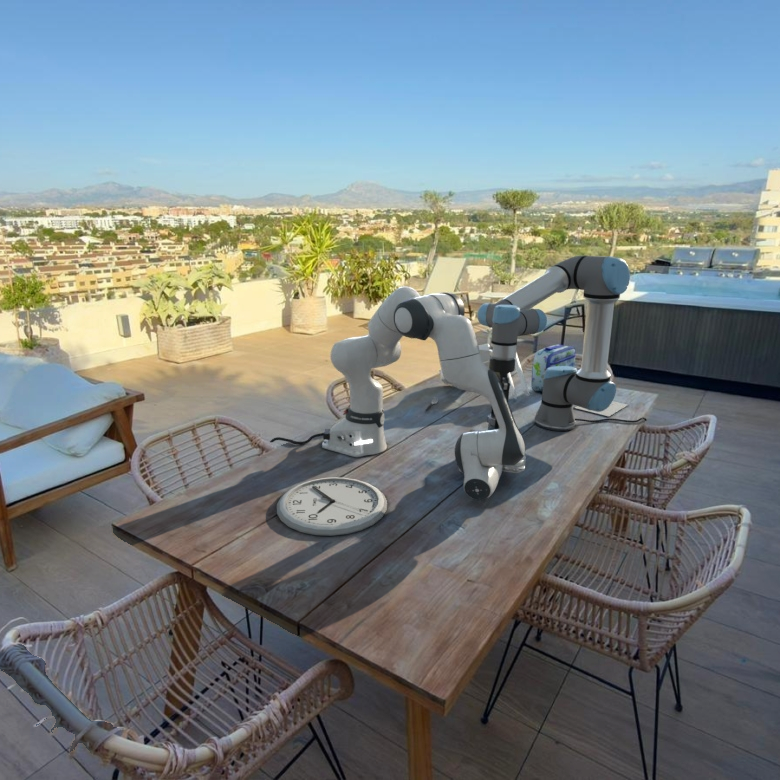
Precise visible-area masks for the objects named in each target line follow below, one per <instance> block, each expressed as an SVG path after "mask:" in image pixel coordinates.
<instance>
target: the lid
mask: <svg viewBox="0 0 780 780" xmlns="http://www.w3.org/2000/svg"><path fill="white" fill-rule="evenodd" d="M495 418H496V417H495V414H494V413H493V414H491V413H489V414H487V418H486V422H487V424H490V425H494V426H495Z"/></svg>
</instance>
